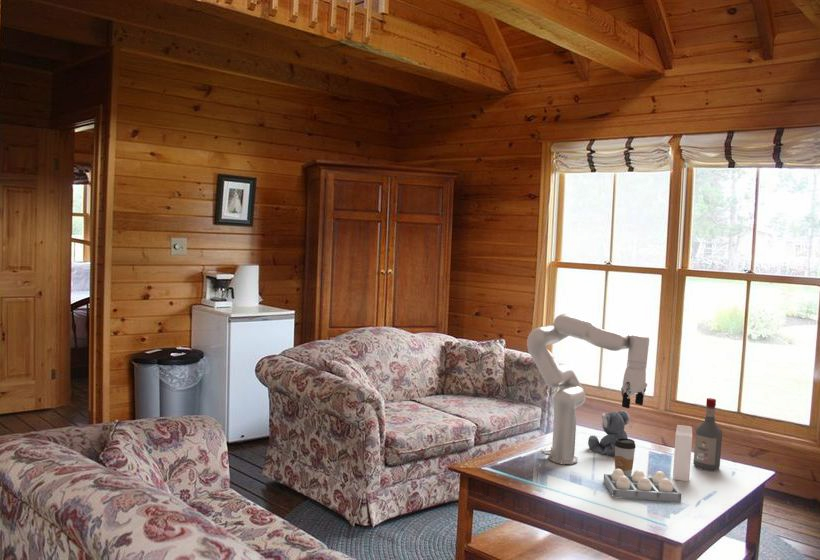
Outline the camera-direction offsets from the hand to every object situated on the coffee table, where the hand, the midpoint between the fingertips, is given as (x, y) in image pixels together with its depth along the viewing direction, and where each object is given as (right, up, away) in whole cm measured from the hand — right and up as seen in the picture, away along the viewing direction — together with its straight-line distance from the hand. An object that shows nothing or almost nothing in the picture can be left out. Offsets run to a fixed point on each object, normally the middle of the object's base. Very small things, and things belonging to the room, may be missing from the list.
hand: (632, 405), depth 282 cm
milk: (+21, -31, +4) cm, 37 cm away
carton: (-1, -31, -13) cm, 33 cm away
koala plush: (+2, -28, +34) cm, 44 cm away
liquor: (+38, -30, +19) cm, 52 cm away
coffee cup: (-3, -30, +3) cm, 30 cm away
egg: (+7, -30, -18) cm, 36 cm away
